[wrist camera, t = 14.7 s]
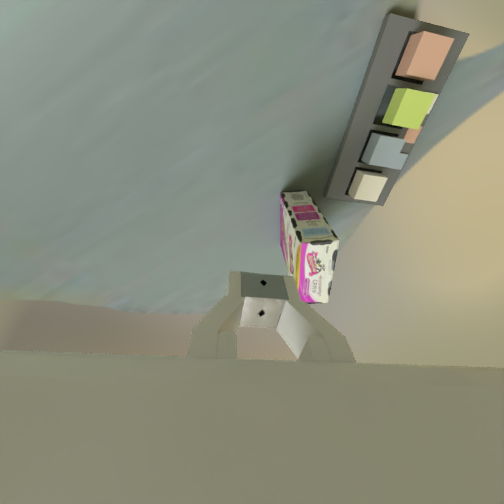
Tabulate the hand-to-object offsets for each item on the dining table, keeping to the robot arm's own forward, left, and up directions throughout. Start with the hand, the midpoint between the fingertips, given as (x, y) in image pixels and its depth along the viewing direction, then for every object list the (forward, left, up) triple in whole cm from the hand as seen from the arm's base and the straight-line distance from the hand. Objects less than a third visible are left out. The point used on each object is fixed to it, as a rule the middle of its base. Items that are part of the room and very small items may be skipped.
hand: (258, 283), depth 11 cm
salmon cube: (-14, +21, -31) cm, 40 cm away
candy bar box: (+11, +11, -31) cm, 35 cm away
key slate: (-3, +21, -31) cm, 37 cm away
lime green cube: (-9, +21, -29) cm, 37 cm away
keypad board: (-6, +21, -31) cm, 38 cm away
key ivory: (+2, +21, -31) cm, 37 cm away
